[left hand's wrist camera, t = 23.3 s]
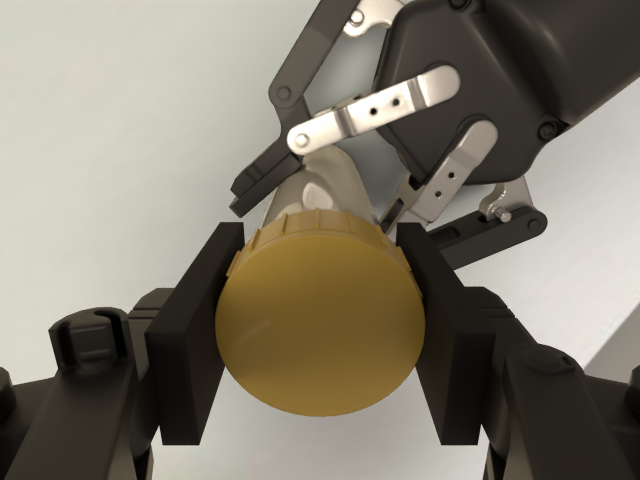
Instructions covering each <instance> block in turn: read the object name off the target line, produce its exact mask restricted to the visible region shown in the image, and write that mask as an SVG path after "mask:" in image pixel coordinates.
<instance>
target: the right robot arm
mask: <svg viewBox="0 0 640 480" xmlns="http://www.w3.org/2000/svg"><path fill="white" fill-rule="evenodd" d="M373 26H383V27H385V28H387V32H386V35H385V39H384V43H383V47H382V50H381V54H380V58H379V62H378V66H377V69H376V73H375V77H374V81H373V85H372V88H371V89H369V90H367V91H365V92H362V93H360V94H358V95H355V96H353V97H351V98H348V99H346V100H344V101H341V102H339V103H337V104H335V105H334V106H331V107H329V108H327V109H324V110H322V111H320V112H317V113H315V114H313V115H311V114H310V111H309V108H308V106H307V103H306V100H305V98H304V95H303V94H304V92H305V90H306V89H307V87H308V86H309V84H310V82H311V81H312V79H313V78H314V76H315V74H316V73H317V71H318V70H319V68H320V66H321V65H322V63H323V62H324V60H325V58H326V57H327V55H328V54H329V52H330V50H331V49H332V47H333V46H334V44H335V42H336V41H337V39H338V38H339V36H340V34H341V33H342V34H344V35H345V36H347V37H349V38H358V37H361V36H362V35H363V34H364V33H365V32H366V31H367V30H368V29H369V28H371V27H373ZM639 77H640V0H414V1H411V2H409V3H408V4H406V5H405V4H404V3H403V2H402V1H400V0H321V1H320V2H319V4H318V6H317V7H316V9H315V11H314V12H313V14H312V16H311V17H310V19H309V21H308V23H307V24H306V26H305V28H304V29H303V31H302V33H301V34H300V36H299V38H298V39H297V41H296V43H295V44H294V46H293V48H292V49H291V51H290V53H289V54H288V56H287V58H286V59H285V61H284V63H283V65H282V66H281V68H280V70H279V71H278V73H277V75H276V76H275V78H274V80H273V81H272V83H271V85H270V87H269V92H268V93H269V99H270V101H271V103H272V104H273V105H274V107H275V110H276V112H277V115H278V117H279V120H280V123H281V134H280V137H279V138H278V139H277V140H276V141H275V142H274V143H273V144H272V145H271V146H269V147H268V148H267V149H266V150H265V151H264V152H263V153H262V154H261V155H259V156H258V157H257V158H256V159H255V160H254V161H253V162H252V163H251V164H250V165H248V166H247V167H246V168H245V169H244V170H243V171H242V172H241V173H240V174H239V175H238V176H237V177H236V179H235V181H234V183H233V185H232V187H231V189H230V190H231V191H232V192H233V193H234V194H235V195H236V196H237V197H236V198H235V199H234V200H233V202H232V203H231V204H230V206H229V208H230V209H231V210H232V211H233V212H234V213H235V214H236V215H237V216H238V217H239V218H242V217H243V216H244V215H245V214H247V213H248V212H249V211H250V210H251V209H252V208H254V207H255V206H256V205H257V204H258V203H259V202H261V201H262V200H263V199H264V198H265V197H266V196H267V195H269V194H270V193H271V192H272V191H273V190H274V189H276V188H277V187H278V186H279V185H280V184H281V183H282V182H283V181H284V180H286V179H287V178H288V177H289V176H290V175H292V174H293V173H294V172H295V171H296V170H297V169H299V168H300V167H301V166H302V163H303V158H304V156H305V155H306V154H309V153H311V152H314V151H316V150H319V149H321V148H324V147H326V146H328V145H331V144H333V143H336V142H338V141H341V140H343V139H346V138H351V137H354V136H357V135H360V134H362V133H365V132H367V131H370V130H372V129H374V128H375V129H376V130H377V132H378V133H379V134H380V135H381V136H382V137H383V138H384V139H385V140H386V141H387V142H388V143H390V144H391V145H393V146H394V147H395V148H396V150H397V153H398V155H399V158H400V160H401V162H402V163H403V165H404V166H405V167H406V168H407V170H408V171H409V172H408V173H407V175H406V176H405V178H404V179H403V181H402V182H401V184H400V185H399V187H398V189H397V193H396V196H395V198H394V199H393V201H392V202H391V204H390V205H389V207H388V208H387V210H386V211H385V212H384V214H383V215H382V217H381V218H380V220H379V221H378V222H379V224H380V226H381V229H382V231H383V233H384V234H385V235H387V237H388V238H389V239H390V240H391V241H392V242H393V243H394V244H395V243H396V228H397V222H420V223H421V225H422V226H423V228H424V229H425V227H426V226H427V225H428V224H430V223H433V222H434V221H435V220H436V219H437V218H438V217H439V216H440V214H441V213H442V212H443V210H444V209H445V208H446V206H447V205H448V203H449V202H450V201H451V199H452V198H453V197H454V195H455V194H456V192H457V191H458V190H459V188H460V187H461V186H470V185H482V184H494V183H496V186H495V188H494V190H493V192H492V193H491V194H489V195H488V196H486V197H485V198H483V200H482V201H481V202H480V205H479V210H477V211H475V212H472V213H470V214H468V215H465V216H463V217H461V218H458V219H456V220H454V221H451V222H449V223H447V224H444V225H442V226H440V227H437V228H435V229H433V230H430V231H428V232H427V233H428V235H429V236H430V238H431V239H432V241H433V242H434V243H435V245H436V246H437V248H438V249H439V251H440V252H441V254H442V255H443V256H444V258H445V259H446V261H447V262H448V264H449V265H450V267H451V268H452V269H453V271H454V270H456V269H459V268H461V267H463V266H466V265H468V264H471V263H473V262H476V261H478V260H481V259H483V258H485V257H488V256H490V255H493V254H495V253H498V252H500V251H502V250H505V249H507V248H510V247H512V246H515V245H517V244H519V243H522V242H524V241H527V240H529V239H532V238H534V237H537V236H539V235H540V234H542V233H543V232H544V231H545V229H546V227H547V217H546V216H545V215H544V214H543V213H542V212H540V211H538V210H537V209H536V208H535V207H534V206H533V203H532V200H531V197H530V193H529V190H528V187H527V184H526V180H525V177H524V174H525V173H526V172H527V171H528V170H529V168H530V167H531V165H532V164H533V162H534V160H535V158H536V156H537V155H538V153H539V152H540V151H541V149H542V148H543V147H544V146H545V145H546V144H547V143H548V142H550V141H551V140H553V139H554V138H556V137H558V136H559V135H561V134H563V133H564V132H566V131H568V130H569V129H571V128H572V127H574V126H575V125H577V124H578V123H579V122H580V121H582V120H583V119H584V118H586V117H587V116H588V115H590V114H591V113H592V112H594V111H595V110H596V109H598V108H599V107H600V106H602V105H603V104H604V103H606V102H607V101H608V100H610V99H611V98H612V97H614V96H615V95H616V94H618V93H619V92H620V91H622V90H623V89H624V88H626V87H627V86H628V85H630V84H631V83H632V82H634V81H635V80H636V79H638V78H639ZM437 191H438V193H436V192H437ZM435 193H436V194H435Z"/></svg>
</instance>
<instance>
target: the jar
mask: <svg viewBox="0 0 640 480" xmlns="http://www.w3.org/2000/svg"><path fill="white" fill-rule="evenodd" d="M315 207H319V210H333V211H339V212H344V213H348V211H350V212H352V215H354V216H357V217H359V218H361V219H363V220H365V221H367V222H369V223H371V224H372V225H374V226H375V227H376V226H377V225H379V226H380V224H379V222H378V219H377V217H376V214H375V212H374V209H373V207H372V204H371V202H370V199H369V197H368V195H367V192H366V190H365V187H364V185H363V182H362V180H361V177H360V175H359V172H358V170H357V168H356V165H355V163H354V162H353V160H352V159H351V157H350V156H349V155H348V154H347V153H346V152H345V151H343V150H342V149H340V148H339V147H337V146H334V145H328V146H326V147H324V148H321V149H319V150H316V151H314V152H311V153H309V154H306V155H305V156H304V158H303V163H302V166H301V167H300V168H299V169H297V170H296V171H295V172H294V173H293V174H292V175H290V176H289V177H288V178H287V179H286V180H284V181H283V182H282V183H281V184H280V185H279V186H278V187H277V188H276V189H275V190H274V193H273V195H272V197H271V200H270V202H269V205H268V207H267V210H266V212H265V215H264V217H263V220H262V222H261V224H260V227H259V229H260V230H261V229H262V228H264V227H265V226H267V225H268V224H270V223H271V222H273V221H275V220H277V219H279V218H281V217H282V216H283V214H284V213H287V215H290V214H293V213H297V212H302V211H308V210H315ZM380 227H381V226H380ZM381 230H382V229H381ZM382 232H383V231H382Z"/></svg>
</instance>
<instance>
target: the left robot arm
mask: <svg viewBox="0 0 640 480" xmlns="http://www.w3.org/2000/svg"><path fill="white" fill-rule="evenodd" d="M244 246H245V239H244V224H243V222H220V224H219V225H218V226H217V228H216V229H215V231H214V232H213V234H212V235H211V237H210V238H209V240H208V241H207V242H206V244H205V245H204V247H203V248H202V250H201V251H200V253H199V254H198V255H197V257H196V258H195V260H194V261H193V263H192V264H191V266H190V267H189V268H188V270H187V271H186V273H185V274H184V276H183V277H182V279H181V280H180V281H179V283H178V284H177V286H176V287H175V288H156V289H155V290H153V291H151V292H150V293H148V294H146V295H145V296H143V297H142V298H141V299H140V300H139V301H138V303H137V304H136V305H135V306H134V308H133V310H131V311H130V312H129V314H128V315H127V313H125V312H124V311H123V310H121V309H117V308H113V307H97V308H92V309H86V310H82V311H79V312H76V313H73V314H71V315H68V316H66V317H64V318H63V319H61V320H59V321H57V322H56V323H55V324H54V325H53V326H52V327H51V328H50V329H49V330H48V331H49V335H50V339H51V343H52V347H53V351H54V354H55V358H56V362H57V366H58V370H57V372H56V374H55V376H54V377H52V378H48V379H43V380H38V381H33V382H28V383H23V384H18V385H12V382H11V379H10V375H9V372H8V371H6V370H5V369H4V368H2V367H0V480H152V472H153V463H154V459H153V453H152V447H151V442H152V439H153V437H154V435H155V433H156V431H157V429H158V426H160V432H161V438H162V444H163V445H199V444H200V441H201V438H202V435H203V432H204V429H205V426H206V423H207V420H208V417H209V413H210V410H211V407H212V404H213V401H214V398H215V395H216V392H217V389H218V386H219V383H220V380H221V377H222V374H223V371H224V368H225V364H224V362H223V360H222V358H221V355H220V353H219V350H218V347H217V342H216V332H215V312H216V307H217V304H218V300H219V297H220V295H221V293H222V290H223V288H224V286H225V284H226V282H227V279H228V276H226V274H227V272H228V270H229V268H230V265H231V263H232V261H233V259H234V257H235V255H236V253H237V251H240V252H241V251H242V249H243V248H244ZM395 246H396V247H398V246H400V248H401V249H402V251H403V254H404V256H405V258H406V260H407V262H408V264H409V266H410V268H411V271H410V272H412V274H413V276H414V279H415V281H416V283H417V285H418V287H419V289H420V291H421V293H422V296H423V300H422V303H423V306H424V311H425V318H426V325H425V335H424V344H423V348H422V351H421V354H420V356H419V358H418V361H417V363H416V365H415V367H416V370H417V373H418V376H419V379H420V382H421V385H422V388H423V391H424V394H425V398H426V401H427V404H428V407H429V410H430V413H431V416H432V419H433V422H434V425H435V428H436V431H437V434H438V437H439V440H440V443H441V445H478V439H479V434H480V428H481V424H482V426H483V428H484V430H485V432H486V434H487V437H488V439H489V441H490V442H489V447H488V453H487V458H486V463H485V469H484V474H483V480H640V365H639V366H637V367H636V368H635V369H633V370H632V373H631V377H630V380H629V383H628V384H627V383H622V382H617V381H612V380H607V379H601V378H596V377H592V376H588V375H585V374H584V371H583V369H582V368H581V366H580V365H579V364H578V363H577V362H576V360H575V359H573V358H572V357H570V356H569V355H567V354H566V353H565V352H563V351H560V350H558V349H556V348H553V347H551V346H547V345H543V344H538V343H537V342H536V341H535V340H534V338H533V337H532V336H531V335H530V333H529V332H528V331H527V330H526V329H525V327H524V326H523V325H522V324H521V322H520V321H519V320H518V319H517V318H515V315H514V314H513V313H512V311H511V310H510V309H508V308H507V305H506V304H505V303H504V302H503V300H502V299H501V298H500V297H499V296H498V295H496V294H495V293H493V292H491V291H490V290H488V289H486V288H485V287H464V285H463V284H462V283H461V281H460V280H459V278H458V277H457V275H456V274H455V272H454V271H453V269H452V268H451V267H450V265H449V264H448V262H447V261H446V259H445V258H444V256H443V255H442V254H441V252H440V251H439V249H438V248H437V246H436V245H435V243H434V242H433V241H432V239H431V238H430V236H429V235H428V233H427V232H426V230H425V229H424V228H423V226H422V225H421V223H420V222H397V228H396V243H395Z"/></svg>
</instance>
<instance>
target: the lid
mask: <svg viewBox="0 0 640 480" xmlns="http://www.w3.org/2000/svg"><path fill="white" fill-rule="evenodd" d="M410 271H411V268H410V266H409V264H408V262H407V260H406V258H405V256H404V254H403V251H402V249H401V248H400V246H398V247H396V246H395V244H394V243H393V242H392V241H391V240H390V239H389V238H388V237H387V235H385V234H384V233H383V232H382V230H381V227H380V226H379V225H377V226H376V227H375V226H374V225H372V224H371V223H369V222H367V221H365V220H363V219H361V218H359V217H357V216H354V215H352V212H350V211H348V213H344V212H339V211H333V210H319V207H315V210H308V211H302V212H297V213H293V214H290V215H287V213H284V214H283V216H282V217H281V218H279V219H277V220H275V221H273V222H271V223H270V224H268V225H267V226H265V227H264V228H262V229H261V230H260V229H259V228H258V229H256V230H255V233H254V235H253V237H252V238H251V239H250V240H249V241H248V242H247V244H246V245H245V246H244V248H243V249H242V251H241V252H240V251H237V253H236V255H235V257H234V259H233V261H232V263H231V265H230V268H229V270H228V272H227V274H226V276H228V279H227V282H226V284H225V286H224V288H223V290H222V293H221V295H220V297H219V300H218V304H217V307H216V312H215V332H216V342H217V347H218V350H219V353H220V355H221V358H222V360H223V362H224V364H225V366H226V368H227V369H228V371H229V372H230V373H231V375H232V376H233V378H234V379H235V380H236V381H237V382H238V383H239V384H240V385H241V386H242V387H243V388H244V389H245V390H246V391H247V392H249V393H250V394H251V395H253V396H254V397H256V398H257V399H259V400H260V401H262V402H264V403H266V404H268V405H270V406H272V407H274V408H277V409H279V410H282V411H285V412H289V413H293V414H297V415H304V416H317V417H325V416H337V415H342V414H348V413H351V412H355V411H358V410H361V409H364V408H366V407H369V406H371V405H373V404H375V403H376V402H378V401H380V400H382V399H383V398H385V397H386V396H388V395H389V394H391V393H392V392H393V391H394V390H395V389H396V388H397V387H399V386H400V385H401V384H402V382H403V381H404V380H405V379H406V378H407V377H408V376H409V374H410V373H411V371H412V370H413V368H414V367H415V365H416V363H417V361H418V358H419V356H420V354H421V351H422V348H423V344H424V335H425V325H426V318H425V311H424V306H423V303H422V300H423V296H422V293H421V291H420V289H419V287H418V285H417V283H416V281H415V279H414V276H413V274H412V272H410Z"/></svg>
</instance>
